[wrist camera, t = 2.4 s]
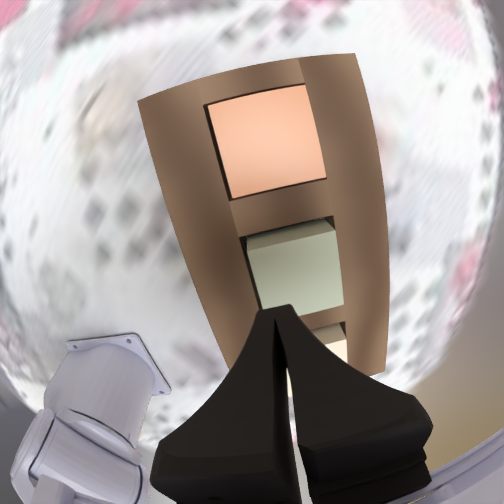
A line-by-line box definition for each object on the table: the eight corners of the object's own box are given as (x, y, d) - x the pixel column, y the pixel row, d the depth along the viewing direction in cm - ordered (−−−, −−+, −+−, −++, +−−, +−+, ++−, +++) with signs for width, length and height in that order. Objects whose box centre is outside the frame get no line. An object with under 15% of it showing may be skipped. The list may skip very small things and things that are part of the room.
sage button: (264, 302, 19) (266, 323, 17) (246, 236, 18) (247, 251, 15) (333, 285, 19) (344, 304, 17) (323, 218, 17) (335, 230, 15)
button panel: (245, 385, 25) (245, 404, 23) (150, 105, 16) (137, 101, 13) (375, 353, 24) (384, 371, 22) (341, 63, 15) (354, 53, 12)
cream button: (284, 375, 22) (287, 397, 20) (273, 334, 21) (275, 356, 18) (340, 362, 22) (347, 382, 20) (337, 318, 20) (346, 339, 18)
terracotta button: (234, 190, 17) (232, 198, 14) (213, 111, 15) (207, 105, 12) (315, 171, 16) (326, 177, 14) (296, 93, 14) (305, 84, 12)
